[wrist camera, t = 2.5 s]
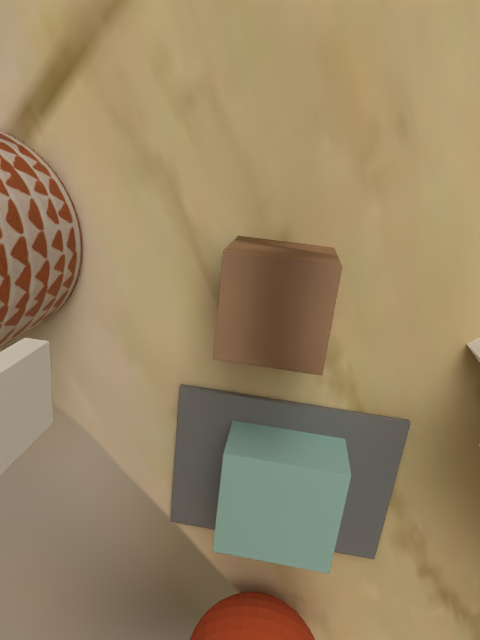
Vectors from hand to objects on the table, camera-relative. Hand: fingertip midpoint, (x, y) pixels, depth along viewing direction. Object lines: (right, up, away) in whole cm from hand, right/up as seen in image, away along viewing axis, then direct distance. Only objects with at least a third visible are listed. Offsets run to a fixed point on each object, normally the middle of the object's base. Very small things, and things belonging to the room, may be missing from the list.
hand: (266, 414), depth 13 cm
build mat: (+2, -9, +21) cm, 22 cm away
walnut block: (+2, +5, +16) cm, 17 cm away
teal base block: (+2, -9, +20) cm, 22 cm away
